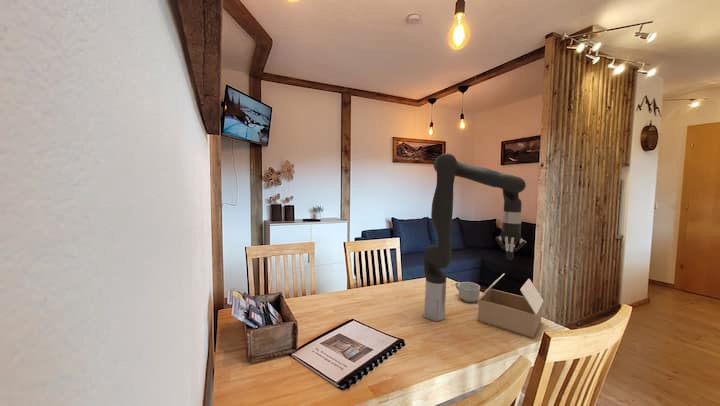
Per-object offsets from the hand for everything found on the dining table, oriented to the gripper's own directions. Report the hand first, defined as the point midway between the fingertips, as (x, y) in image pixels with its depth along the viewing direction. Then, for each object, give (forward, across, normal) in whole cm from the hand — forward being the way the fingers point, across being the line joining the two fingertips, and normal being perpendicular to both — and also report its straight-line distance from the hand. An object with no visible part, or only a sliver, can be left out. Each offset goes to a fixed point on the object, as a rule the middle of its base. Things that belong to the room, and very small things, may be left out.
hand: (509, 259), depth 132 cm
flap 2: (+14, +10, -2) cm, 17 cm away
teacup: (+28, -22, +10) cm, 37 cm away
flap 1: (+14, -6, -2) cm, 15 cm away
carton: (+28, +2, -2) cm, 28 cm away
